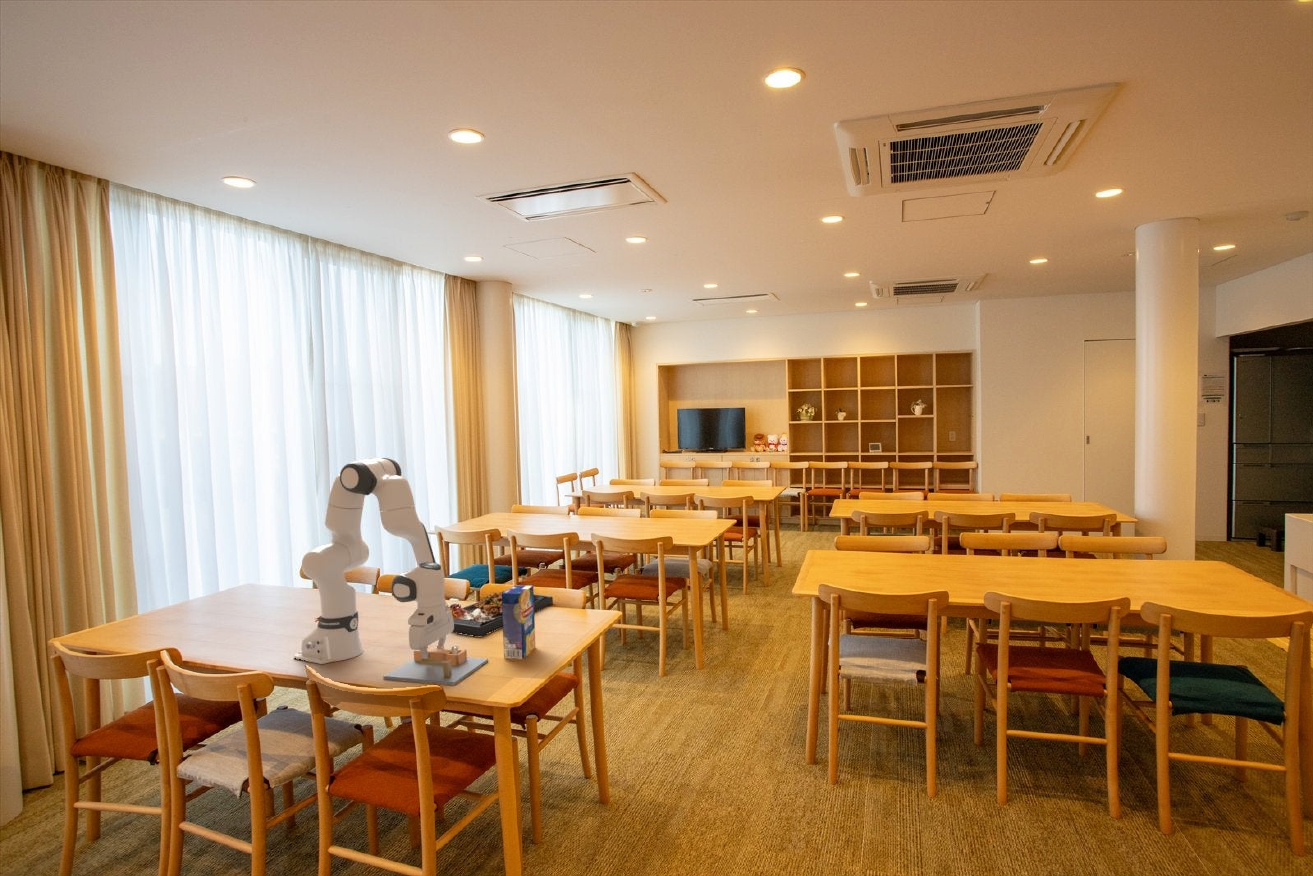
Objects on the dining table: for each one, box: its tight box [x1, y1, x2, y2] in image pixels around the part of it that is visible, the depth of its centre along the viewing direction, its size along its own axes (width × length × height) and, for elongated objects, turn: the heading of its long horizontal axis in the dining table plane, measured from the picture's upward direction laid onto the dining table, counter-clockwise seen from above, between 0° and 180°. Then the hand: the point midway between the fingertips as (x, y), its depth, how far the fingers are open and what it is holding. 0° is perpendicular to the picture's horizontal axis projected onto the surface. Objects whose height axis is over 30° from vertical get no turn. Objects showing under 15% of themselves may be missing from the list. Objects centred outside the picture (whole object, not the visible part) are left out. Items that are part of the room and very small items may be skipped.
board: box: [382, 656, 489, 686], centre depth 219 cm, size 25×20×1 cm
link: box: [413, 647, 468, 666], centre depth 224 cm, size 17×5×3 cm, turn 75°
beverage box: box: [502, 584, 536, 659], centre depth 231 cm, size 7×11×22 cm, turn 169°
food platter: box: [446, 590, 554, 637], centre depth 276 cm, size 45×25×10 cm, turn 153°
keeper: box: [420, 659, 452, 679], centre depth 211 cm, size 10×2×5 cm, turn 75°
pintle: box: [451, 645, 459, 654], centre depth 222 cm, size 2×2×5 cm
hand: (433, 654), depth 225 cm, fingers open, 7 cm apart
